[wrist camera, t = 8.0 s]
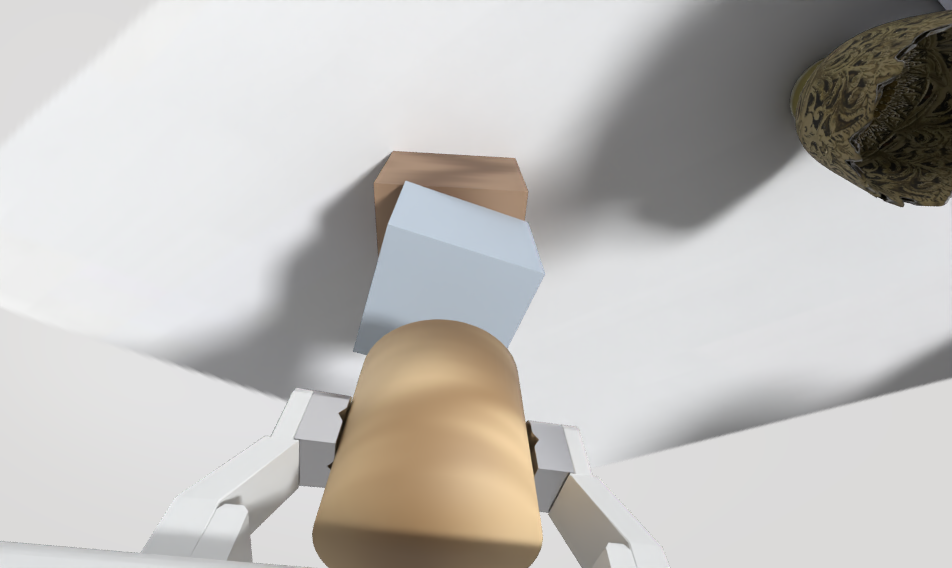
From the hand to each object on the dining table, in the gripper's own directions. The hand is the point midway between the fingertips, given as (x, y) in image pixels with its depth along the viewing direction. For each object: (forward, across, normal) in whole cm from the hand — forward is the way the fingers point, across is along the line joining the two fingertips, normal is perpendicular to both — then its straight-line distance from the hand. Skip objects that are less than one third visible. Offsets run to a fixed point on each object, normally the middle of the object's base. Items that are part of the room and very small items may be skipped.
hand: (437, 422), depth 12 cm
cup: (+16, -18, -11) cm, 27 cm away
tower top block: (+10, 0, 0) cm, 10 cm away
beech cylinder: (+2, 0, 0) cm, 2 cm away
